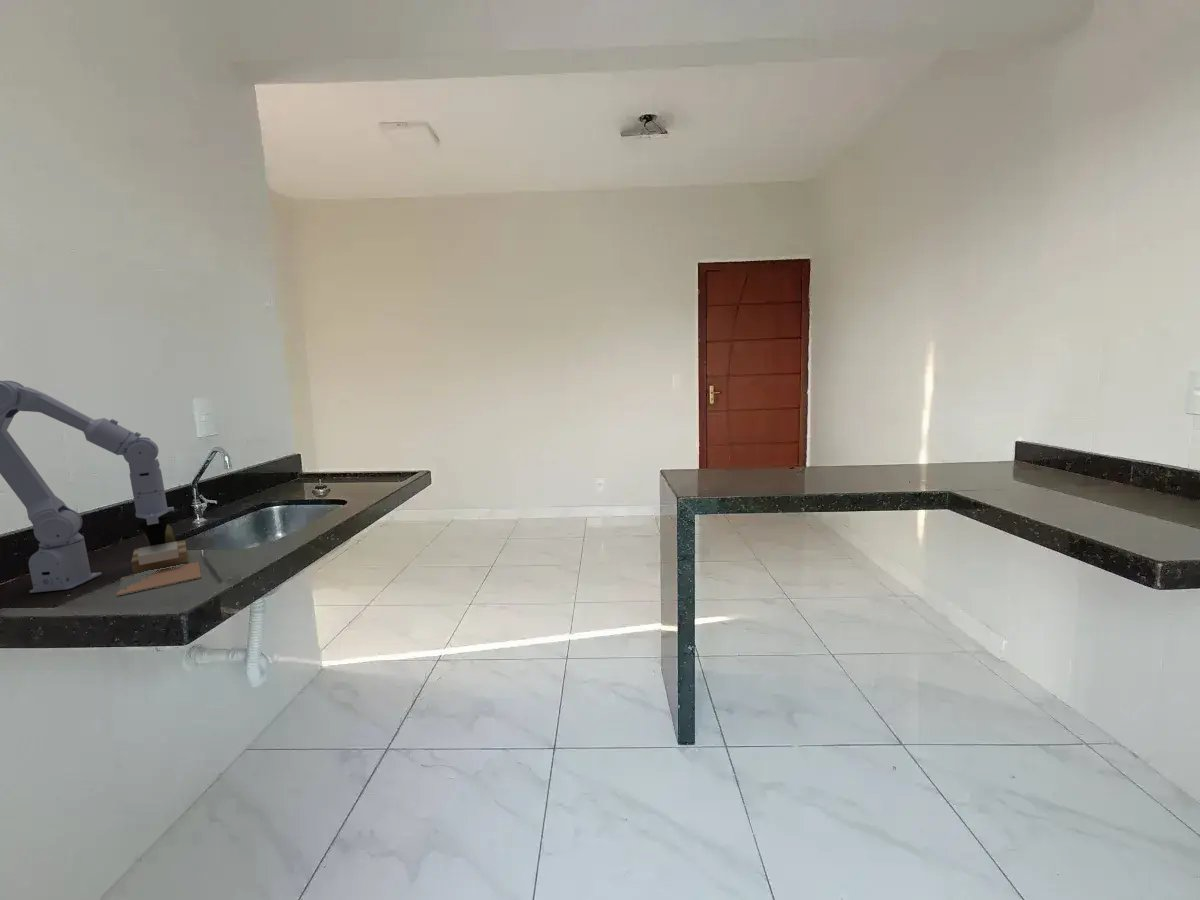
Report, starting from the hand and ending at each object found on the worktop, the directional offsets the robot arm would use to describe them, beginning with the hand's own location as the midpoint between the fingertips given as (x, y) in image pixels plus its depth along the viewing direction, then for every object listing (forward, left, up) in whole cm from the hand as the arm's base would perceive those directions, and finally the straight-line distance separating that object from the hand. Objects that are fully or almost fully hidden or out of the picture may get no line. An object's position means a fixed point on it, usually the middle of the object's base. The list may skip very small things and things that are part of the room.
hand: (159, 549), depth 137 cm
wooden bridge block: (+2, +1, -4) cm, 4 cm away
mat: (-11, -6, -4) cm, 13 cm away
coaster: (-4, -2, -1) cm, 5 cm away
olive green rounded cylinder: (+21, +13, -1) cm, 24 cm away
